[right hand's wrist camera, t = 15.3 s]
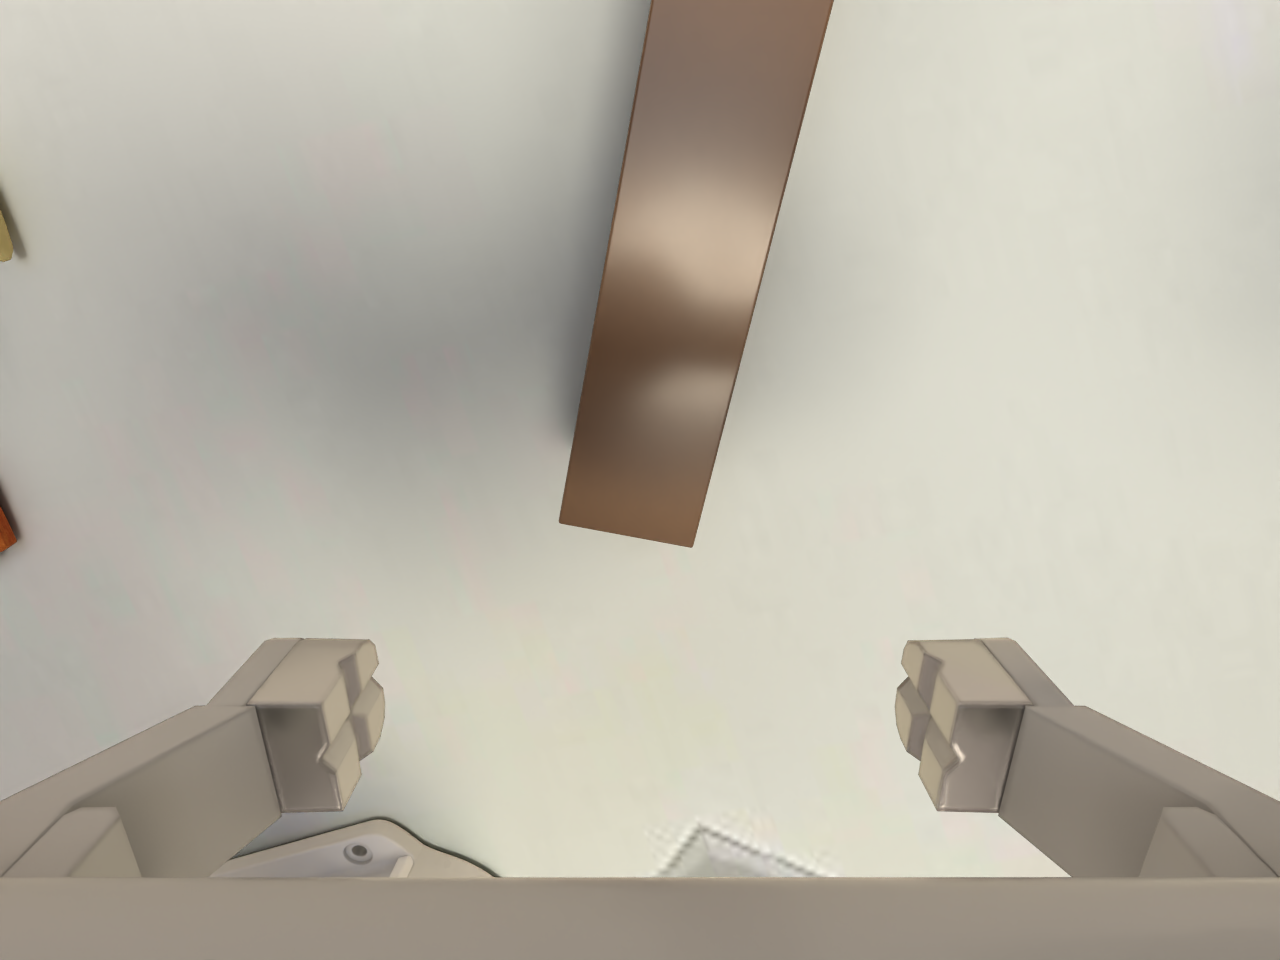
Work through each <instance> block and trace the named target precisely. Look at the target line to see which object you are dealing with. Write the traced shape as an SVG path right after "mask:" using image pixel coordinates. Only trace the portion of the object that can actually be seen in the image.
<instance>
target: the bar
mask: <svg viewBox="0 0 1280 960" xmlns="http://www.w3.org/2000/svg"><path fill="white" fill-rule="evenodd" d="M833 2H834V0H651V5H650V11H649V16H648V22H647V27H646V33H645V39H644V44H643V50H642V56H641V61H640V67H639V72H638V78H637V84H636V89H635V95H634V101H633V106H632V112H631V117H630V123H629V129H628V134H627V140H626V146H625V151H624V157H623V162H622V168H621V174H620V179H619V185H618V191H617V196H616V202H615V207H614V213H613V219H612V224H611V230H610V236H609V241H608V247H607V252H606V258H605V264H604V269H603V275H602V281H601V286H600V292H599V297H598V303H597V309H596V314H595V320H594V326H593V331H592V337H591V342H590V348H589V354H588V359H587V365H586V371H585V376H584V382H583V387H582V393H581V399H580V404H579V410H578V416H577V421H576V427H575V432H574V438H573V444H572V449H571V455H570V461H569V466H568V472H567V477H566V483H565V489H564V494H563V500H562V505H561V511H560V517H559V523H561V524H566V525H572V526H577V527H582V528H588V529H593V530H599V531H604V532H609V533H615V534H620V535H626V536H631V537H636V538H642V539H647V540H653V541H658V542H663V543H669V544H674V545H680V546H685V547H690V548H691V547H693V545H694V541H695V537H696V533H697V529H698V525H699V521H700V517H701V514H702V510H703V506H704V502H705V498H706V494H707V490H708V486H709V483H710V479H711V475H712V471H713V467H714V463H715V459H716V455H717V452H718V448H719V444H720V440H721V436H722V432H723V428H724V424H725V421H726V417H727V413H728V409H729V405H730V401H731V397H732V393H733V390H734V386H735V382H736V378H737V374H738V370H739V366H740V362H741V358H742V355H743V351H744V347H745V343H746V339H747V335H748V331H749V327H750V324H751V320H752V316H753V312H754V308H755V304H756V300H757V296H758V293H759V289H760V285H761V281H762V277H763V273H764V269H765V265H766V262H767V258H768V254H769V250H770V246H771V242H772V238H773V234H774V231H775V227H776V223H777V219H778V215H779V211H780V207H781V203H782V200H783V196H784V192H785V188H786V184H787V180H788V176H789V172H790V168H791V165H792V161H793V157H794V153H795V149H796V145H797V141H798V137H799V134H800V130H801V126H802V122H803V118H804V114H805V110H806V106H807V103H808V99H809V95H810V91H811V87H812V83H813V79H814V75H815V72H816V68H817V64H818V60H819V56H820V52H821V48H822V44H823V41H824V37H825V33H826V29H827V25H828V21H829V17H830V13H831V10H832V6H833Z"/></svg>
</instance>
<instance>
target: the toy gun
mask: <svg viewBox="0 0 1280 960" xmlns="http://www.w3.org/2000/svg"><path fill="white" fill-rule="evenodd" d="M12 253H13V245H12V241H11V238H10V235H9V232H8V229H7V226H6V223H5V221H4V218H3V215H2V213H1V210H0V261H2V262H4V261H8V260H10V259H11V258H12ZM16 542H17V540H16V538H15V536H14V533H13V531H12V529H11V527H10V525H9V523H8V521H7V519H6V517H5V515H4V513H3V511H2V509H1V507H0V552H2V551H4V550H6V549H7V548H9V547H10V546H12V545H13V544H14V543H16Z"/></svg>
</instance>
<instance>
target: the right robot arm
mask: <svg viewBox="0 0 1280 960" xmlns="http://www.w3.org/2000/svg"><path fill="white" fill-rule="evenodd" d="M378 664H379V661H378V656H377V652H376V647H375V644H374V643H372V642H371V641H370V640H369V639H322V638H306V639H303V638H273V639H269V640H266V641H264V642H263V643H262V644H261V646H260V647H259V648H258V649H257V650H256V651H255V652H254V653H253V654H252V655H251V657H250V658H249V659H248V660H247V661H246V662H245V663H244V664H243V665H242V666H241V668H240V669H239V670H238V671H237V672H236V673H235V674H234V675H233V676H232V677H231V679H230V680H229V681H228V682H227V683H226V684H225V685H224V686H223V687H222V688H221V690H220V691H219V692H218V693H217V694H216V695H215V696H214V697H213V698H212V699H211V701H210V702H209V703H208V704H207V705H206V706H194V707H191V708H189V709H187V710H185V711H183V712H181V713H179V714H177V715H175V716H173V717H171V718H169V719H167V720H165V721H163V722H161V723H159V724H157V725H155V726H153V727H151V728H149V729H147V730H145V731H143V732H141V733H139V734H136V735H134V736H132V737H130V738H128V739H126V740H124V741H122V742H120V743H118V744H116V745H114V746H112V747H110V748H108V749H106V750H104V751H102V752H100V753H98V754H96V755H94V756H92V757H90V758H88V759H86V760H83V761H81V762H79V763H77V764H75V765H73V766H71V767H69V768H67V769H65V770H63V771H61V772H59V773H57V774H55V775H53V776H51V777H49V778H47V779H45V780H43V781H41V782H39V783H37V784H35V785H33V786H31V787H28V788H26V789H24V790H22V791H20V792H18V793H16V794H14V795H12V796H10V797H8V798H6V799H4V800H2V801H0V960H1280V802H1279V801H1277V800H1275V799H1273V798H1271V797H1269V796H1267V795H1265V794H1263V793H1261V792H1259V791H1257V790H1255V789H1253V788H1251V787H1249V786H1247V785H1245V784H1243V783H1241V782H1239V781H1237V780H1235V779H1233V778H1231V777H1229V776H1227V775H1225V774H1223V773H1221V772H1219V771H1217V770H1214V769H1212V768H1210V767H1208V766H1206V765H1204V764H1202V763H1200V762H1198V761H1196V760H1194V759H1192V758H1190V757H1188V756H1186V755H1184V754H1182V753H1180V752H1178V751H1176V750H1174V749H1172V748H1170V747H1168V746H1166V745H1164V744H1162V743H1160V742H1158V741H1156V740H1154V739H1152V738H1149V737H1147V736H1145V735H1143V734H1141V733H1139V732H1137V731H1135V730H1133V729H1131V728H1129V727H1127V726H1125V725H1123V724H1121V723H1119V722H1117V721H1115V720H1113V719H1111V718H1109V717H1107V716H1105V715H1103V714H1101V713H1099V712H1097V711H1095V710H1093V709H1091V708H1089V707H1086V706H1074V705H1073V704H1072V703H1071V702H1070V701H1069V699H1068V698H1067V697H1066V696H1065V695H1064V694H1063V693H1062V692H1061V691H1060V690H1059V688H1058V687H1057V686H1056V685H1055V684H1054V683H1053V682H1052V681H1051V680H1050V679H1049V677H1048V676H1047V675H1046V674H1045V673H1044V672H1043V671H1042V670H1041V669H1040V668H1039V666H1038V665H1037V664H1036V663H1035V662H1034V661H1033V660H1032V659H1031V658H1030V657H1029V655H1028V654H1027V653H1026V652H1025V651H1024V650H1023V649H1022V648H1021V647H1020V646H1019V644H1018V643H1017V642H1016V641H1014V640H1012V639H1009V638H980V639H960V640H908V641H907V643H906V645H905V648H904V650H903V655H902V661H901V664H902V666H903V668H904V669H905V671H906V673H907V675H908V677H907V678H906V679H905V680H904V681H903V682H902V683H901V684H900V686H899V687H898V688H897V693H896V701H895V715H896V725H897V729H898V732H899V735H900V739H901V741H902V743H903V745H904V747H905V749H906V751H907V752H908V753H910V754H911V755H912V756H914V757H915V758H917V759H918V760H920V761H921V762H920V768H919V773H918V775H919V777H920V779H921V781H922V783H923V785H924V787H925V789H926V791H927V792H928V794H929V796H930V798H931V800H932V802H933V804H934V806H935V808H936V810H937V811H950V812H985V813H999V814H998V816H999V817H1000V818H1002V819H1003V820H1004V821H1005V822H1006V823H1008V824H1009V825H1010V826H1011V827H1012V828H1014V829H1015V830H1016V831H1017V832H1018V833H1020V834H1021V835H1022V836H1023V837H1024V838H1026V839H1027V840H1028V841H1029V842H1030V843H1032V844H1033V845H1034V846H1035V847H1036V848H1038V849H1039V850H1040V851H1041V852H1042V853H1044V854H1045V855H1046V856H1047V857H1048V858H1050V859H1051V860H1052V861H1053V862H1054V863H1056V864H1057V865H1058V866H1059V867H1060V868H1062V869H1063V870H1064V871H1065V872H1066V873H1068V874H1069V875H1070V876H1071V877H599V878H566V877H493V876H492V875H490V874H489V873H487V872H486V871H484V870H482V869H481V868H479V867H477V866H475V865H473V864H471V863H469V862H467V861H465V860H463V859H460V858H458V857H455V856H452V855H449V854H446V853H443V852H440V851H437V850H435V849H432V848H430V847H428V846H426V845H424V844H422V843H421V842H420V841H419V840H417V839H416V838H415V837H413V836H412V835H411V834H409V833H408V832H407V831H405V830H404V829H402V828H401V827H399V826H398V825H396V824H394V823H392V822H389V821H386V820H380V819H378V820H370V821H367V822H363V823H360V824H356V825H352V826H349V827H345V828H342V829H338V830H335V831H331V832H327V833H324V834H320V835H317V836H313V837H310V838H306V839H302V840H299V841H295V842H292V843H288V844H285V845H281V846H277V847H274V848H270V849H267V850H263V851H260V852H256V853H252V854H249V855H245V856H242V857H238V858H235V859H231V858H232V857H233V856H234V855H235V854H237V853H238V852H239V851H240V850H241V849H243V848H244V847H245V846H246V845H247V844H249V843H250V842H251V841H252V840H253V839H255V838H256V837H257V836H258V835H259V834H261V833H262V832H263V831H264V830H266V829H267V828H268V827H269V826H270V825H272V824H273V823H274V822H275V821H276V820H278V819H279V818H280V817H281V813H294V812H329V811H343V810H344V808H345V806H346V804H347V802H348V800H349V798H350V796H351V794H352V793H353V791H354V789H355V787H356V785H357V783H358V781H359V779H360V777H361V775H362V773H361V768H360V762H359V761H360V760H362V759H363V758H365V757H366V756H368V755H369V754H370V753H372V752H373V751H374V749H375V747H376V745H377V743H378V741H379V739H380V736H381V732H382V727H383V723H384V718H385V699H384V692H383V688H382V687H381V686H380V685H379V683H378V682H377V681H376V680H375V679H374V678H373V677H372V675H373V673H374V671H375V669H376V668H377V666H378ZM229 859H231V860H229Z"/></svg>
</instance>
